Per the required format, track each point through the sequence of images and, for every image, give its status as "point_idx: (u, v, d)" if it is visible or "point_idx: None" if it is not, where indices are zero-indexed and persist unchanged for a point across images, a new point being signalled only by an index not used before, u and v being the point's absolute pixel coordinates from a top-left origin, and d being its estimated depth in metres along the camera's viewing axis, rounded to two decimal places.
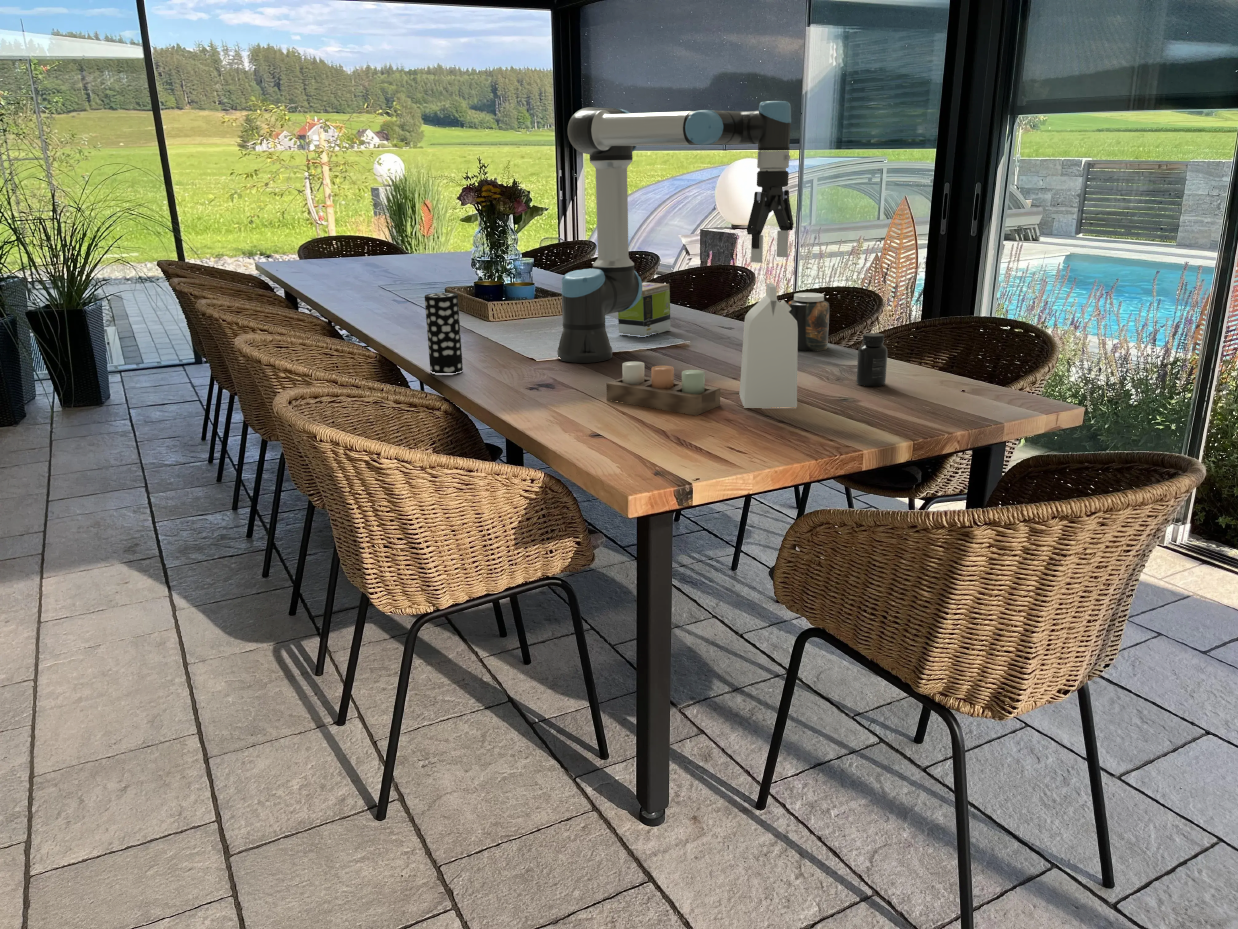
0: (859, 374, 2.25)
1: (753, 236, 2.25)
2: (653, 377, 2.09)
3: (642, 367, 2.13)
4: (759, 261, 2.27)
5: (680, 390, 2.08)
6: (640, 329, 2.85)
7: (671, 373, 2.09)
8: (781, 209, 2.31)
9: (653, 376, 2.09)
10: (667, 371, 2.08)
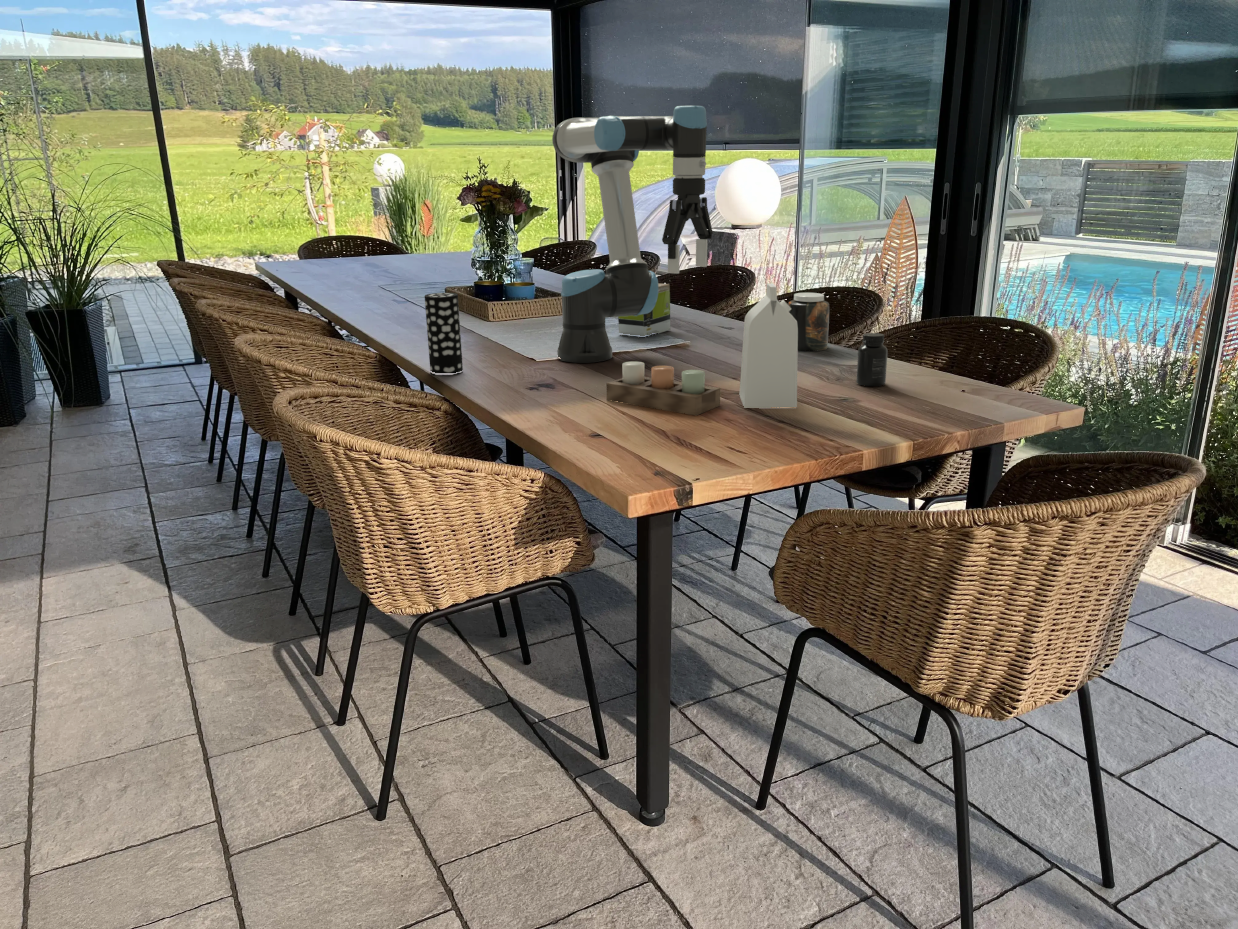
0: (859, 374, 2.25)
1: (669, 246, 2.17)
2: (653, 377, 2.09)
3: (642, 367, 2.13)
4: (676, 272, 2.19)
5: (680, 390, 2.08)
6: (640, 329, 2.85)
7: (671, 373, 2.09)
8: (699, 217, 2.23)
9: (653, 376, 2.09)
10: (667, 371, 2.08)
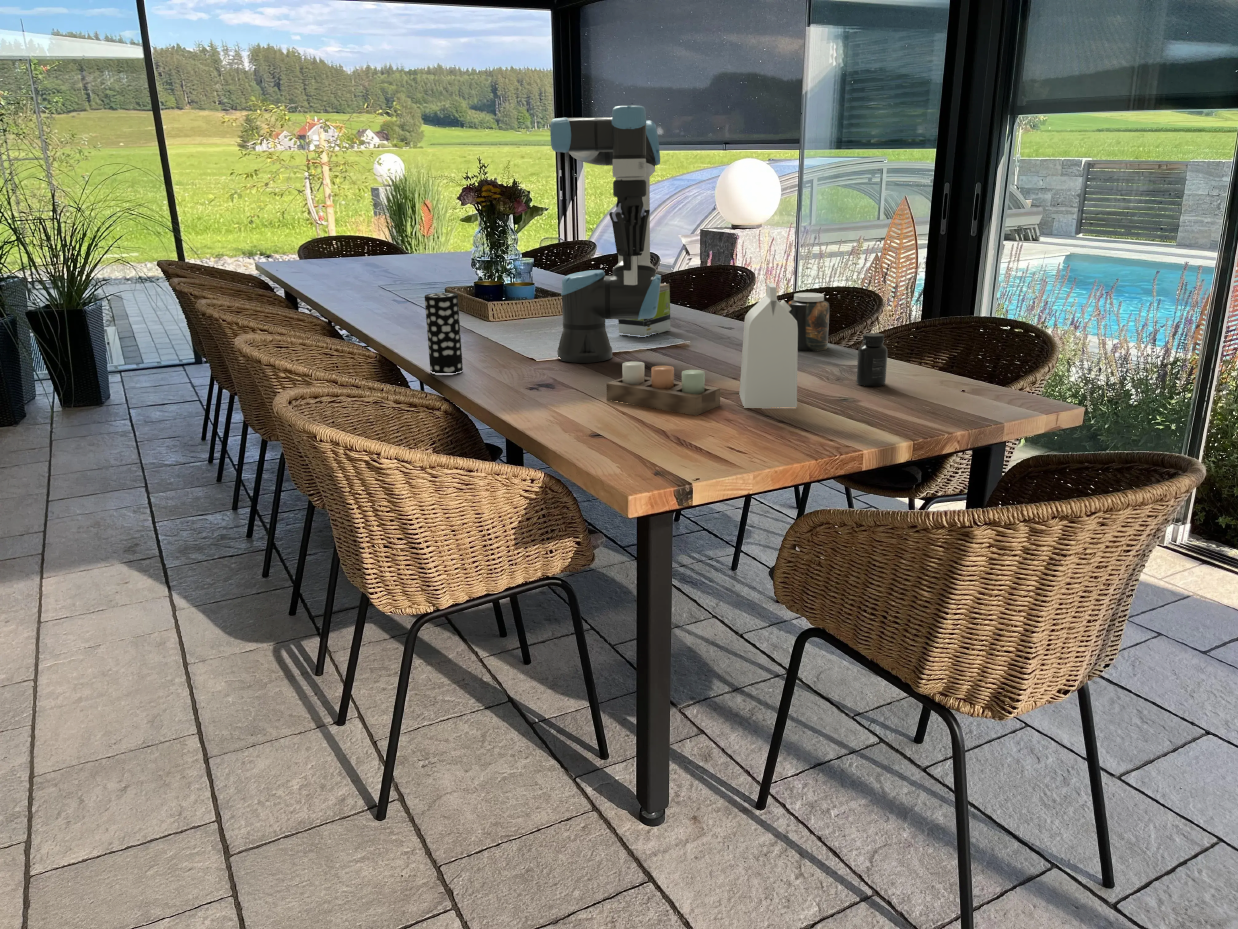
0: (859, 374, 2.25)
1: (624, 258, 2.17)
2: (653, 377, 2.09)
3: (642, 367, 2.13)
4: (632, 283, 2.19)
5: (680, 390, 2.08)
6: (640, 329, 2.85)
7: (671, 373, 2.09)
8: (636, 223, 2.15)
9: (653, 376, 2.09)
10: (667, 371, 2.08)
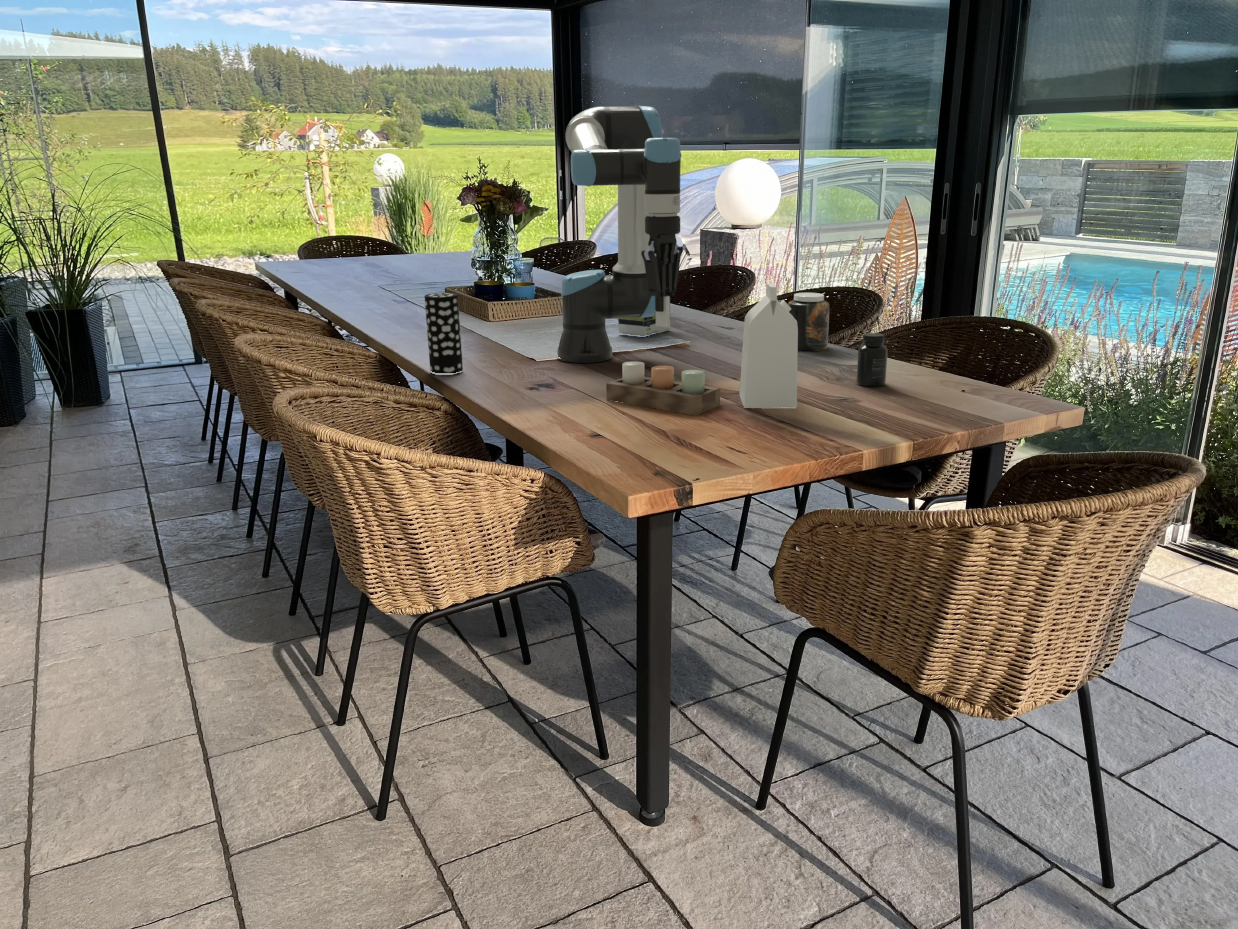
0: (859, 374, 2.25)
1: (656, 298, 2.04)
2: (653, 377, 2.09)
3: (642, 367, 2.13)
4: (664, 325, 2.06)
5: (680, 390, 2.08)
6: (640, 329, 2.85)
7: (671, 373, 2.09)
8: (669, 261, 2.02)
9: (653, 376, 2.09)
10: (667, 371, 2.08)
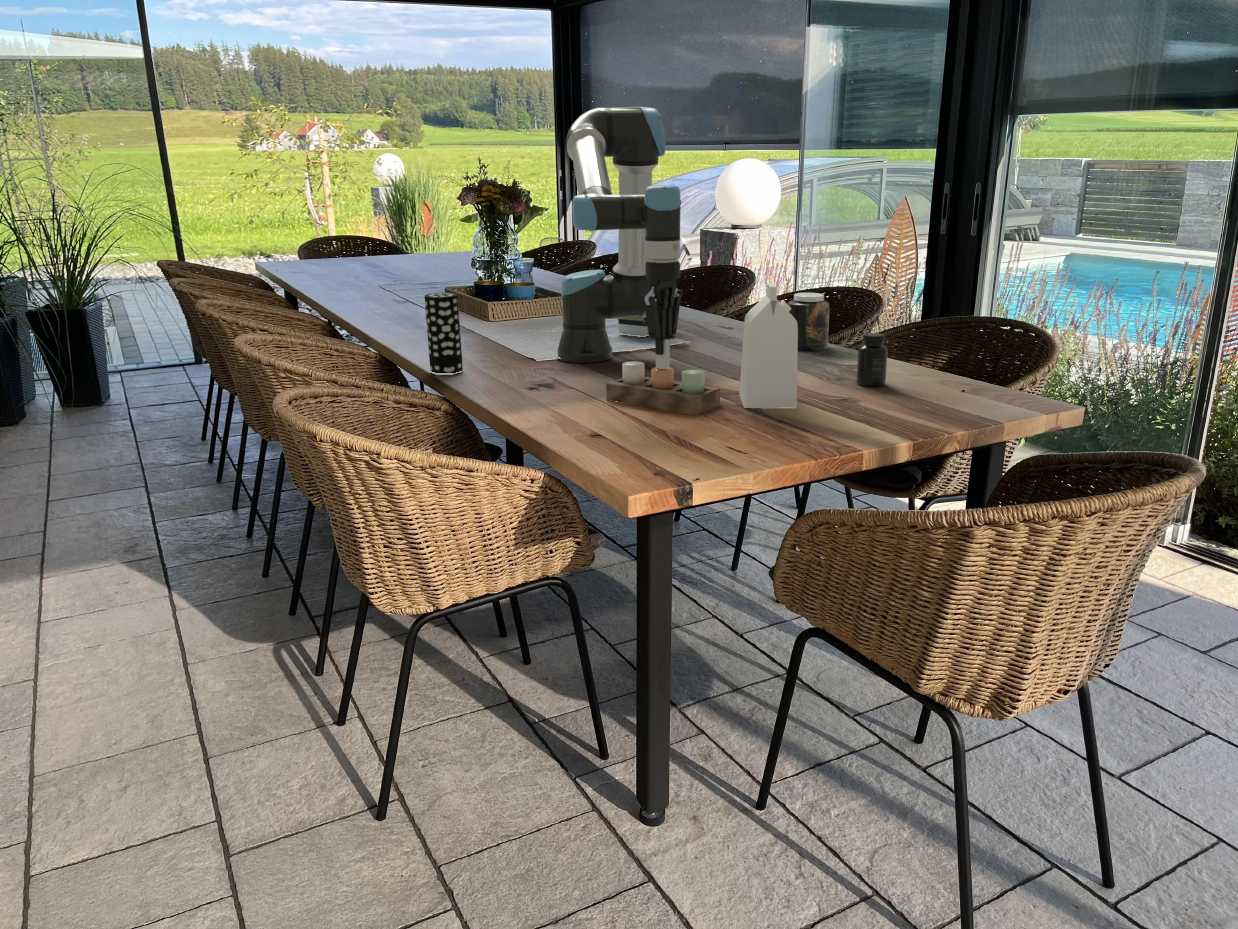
0: (859, 374, 2.25)
1: (656, 341, 2.07)
2: (653, 378, 2.09)
3: (642, 367, 2.13)
4: (664, 368, 2.09)
5: (680, 390, 2.08)
6: (640, 329, 2.85)
7: (671, 374, 2.09)
8: (669, 306, 2.05)
9: (653, 377, 2.09)
10: (667, 372, 2.08)
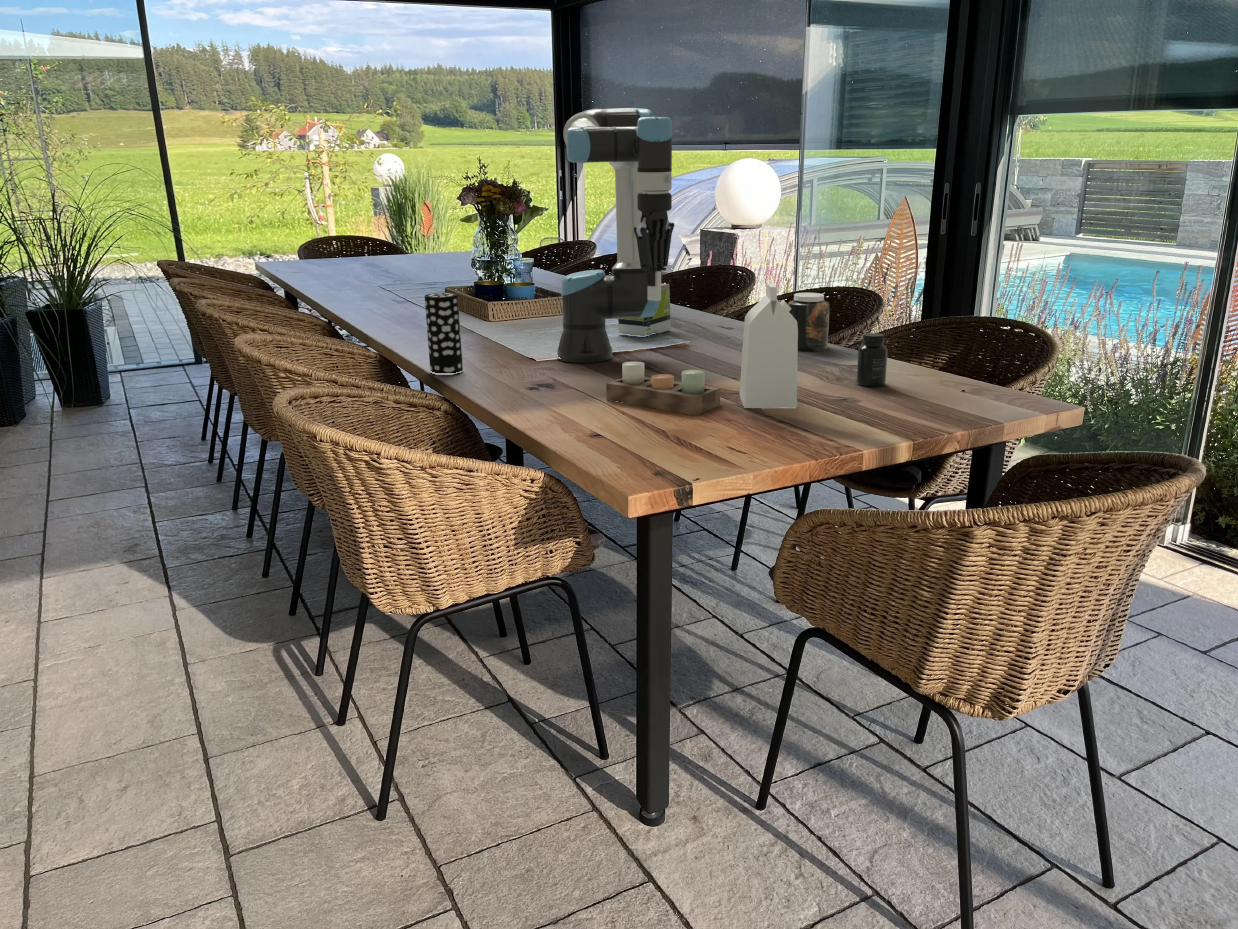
0: (859, 374, 2.25)
1: (648, 273, 2.10)
2: (653, 386, 2.10)
3: (642, 367, 2.13)
4: (656, 299, 2.13)
5: (680, 390, 2.08)
6: (640, 329, 2.85)
7: (671, 382, 2.09)
8: (660, 237, 2.09)
9: (653, 385, 2.10)
10: (667, 380, 2.09)
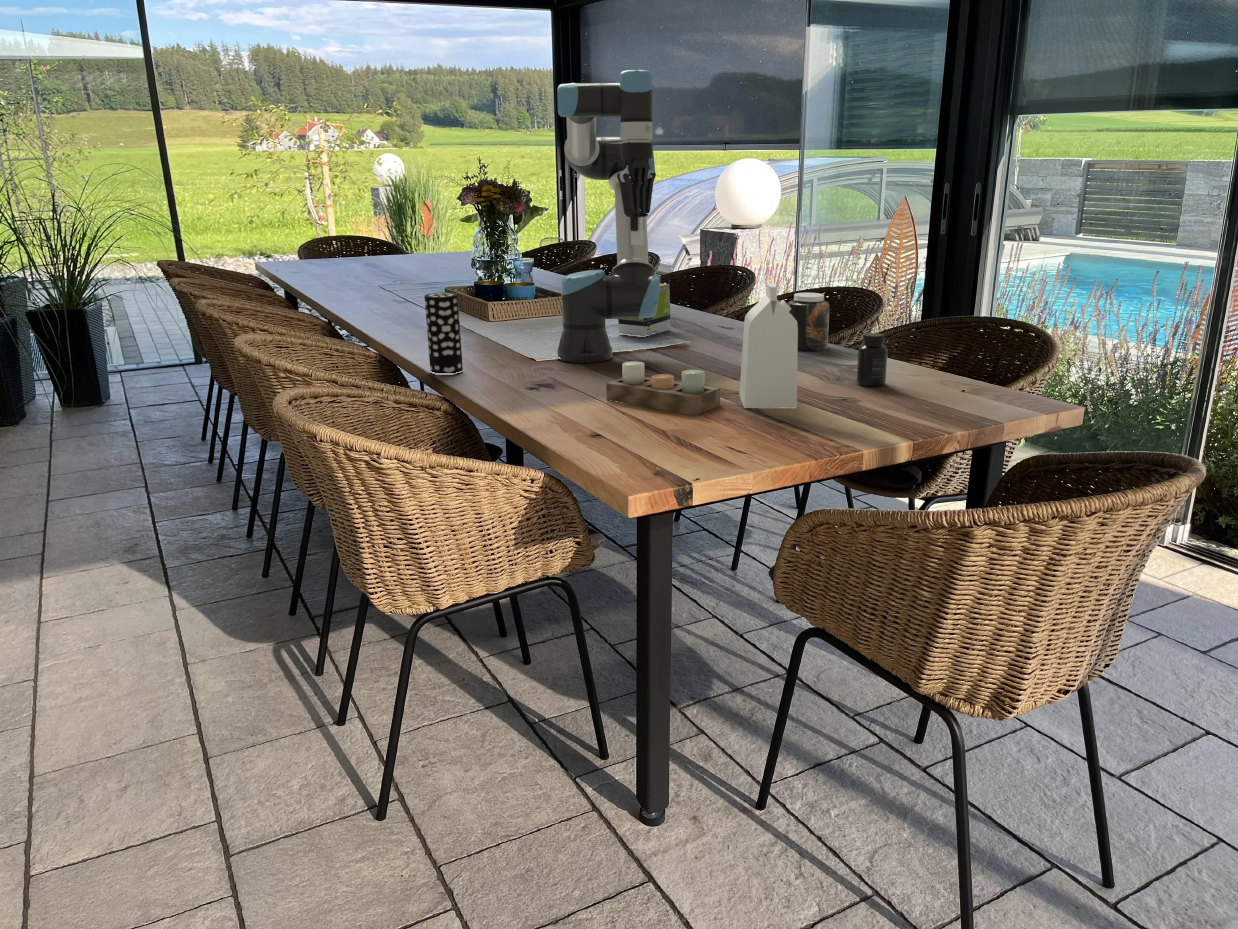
0: (859, 374, 2.25)
1: (631, 218, 2.25)
2: (653, 386, 2.10)
3: (642, 367, 2.13)
4: (638, 243, 2.27)
5: (680, 390, 2.08)
6: (640, 329, 2.85)
7: (671, 382, 2.09)
8: (642, 185, 2.23)
9: (653, 385, 2.10)
10: (667, 380, 2.09)
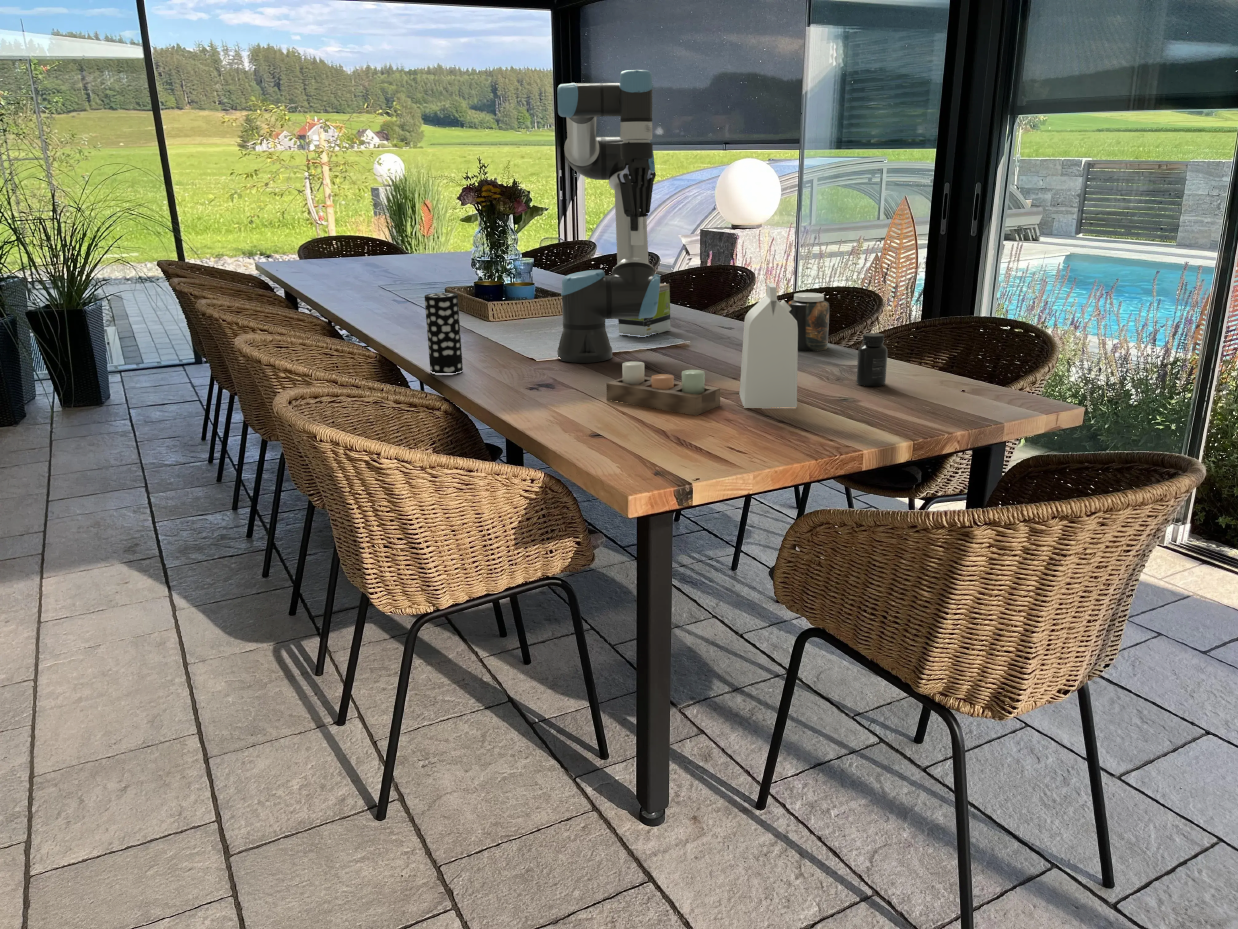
0: (859, 374, 2.25)
1: (631, 218, 2.25)
2: (653, 386, 2.10)
3: (642, 367, 2.13)
4: (638, 243, 2.27)
5: (680, 390, 2.08)
6: (640, 329, 2.85)
7: (671, 382, 2.09)
8: (642, 185, 2.23)
9: (653, 385, 2.10)
10: (667, 380, 2.09)
